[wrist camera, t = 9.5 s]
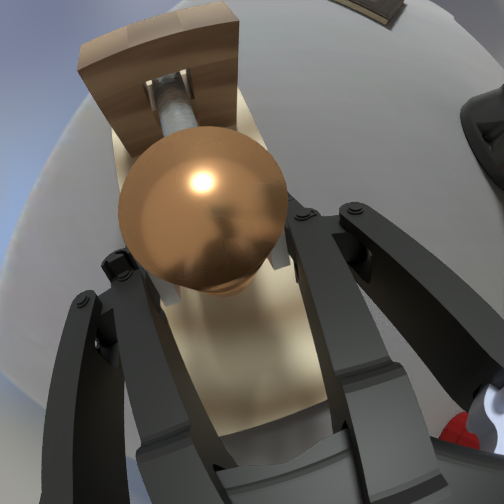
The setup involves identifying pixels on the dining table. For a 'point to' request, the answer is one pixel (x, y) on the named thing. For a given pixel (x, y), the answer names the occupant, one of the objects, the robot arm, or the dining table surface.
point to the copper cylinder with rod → (201, 201)
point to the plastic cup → (460, 432)
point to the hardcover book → (375, 8)
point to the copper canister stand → (266, 279)
